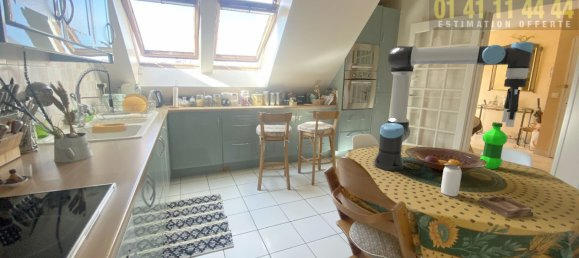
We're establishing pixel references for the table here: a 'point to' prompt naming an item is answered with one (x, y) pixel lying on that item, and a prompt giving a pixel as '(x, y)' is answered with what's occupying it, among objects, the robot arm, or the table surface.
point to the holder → (505, 206)
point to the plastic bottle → (494, 146)
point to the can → (451, 180)
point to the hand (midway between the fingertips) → (507, 124)
